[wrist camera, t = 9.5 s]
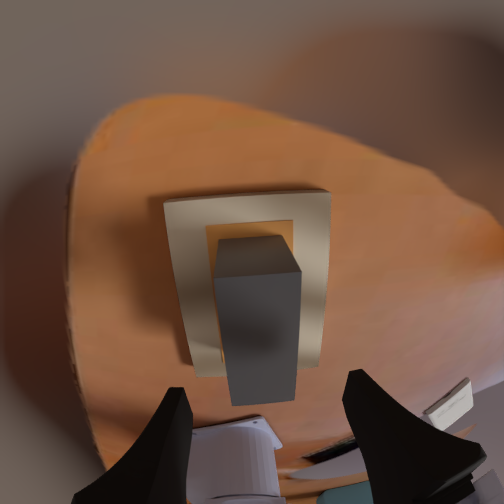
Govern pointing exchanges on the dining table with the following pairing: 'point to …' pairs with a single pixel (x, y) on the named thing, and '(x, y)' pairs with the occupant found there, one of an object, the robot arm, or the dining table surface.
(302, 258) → the board
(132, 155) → the dining table surface
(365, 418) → the robot arm
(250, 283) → the block
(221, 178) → the dining table surface
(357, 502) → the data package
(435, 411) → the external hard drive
